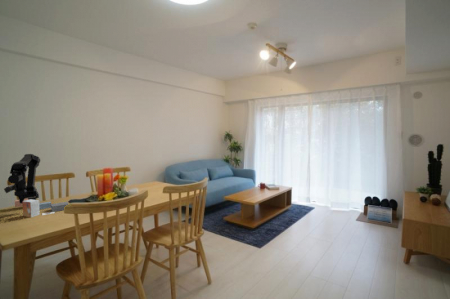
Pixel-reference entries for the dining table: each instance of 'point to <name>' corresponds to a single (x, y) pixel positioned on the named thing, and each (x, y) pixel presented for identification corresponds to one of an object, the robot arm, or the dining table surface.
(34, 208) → the small box
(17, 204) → the terracotta brick
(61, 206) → the charcoal base brick
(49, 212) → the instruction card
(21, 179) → the robot arm
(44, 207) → the slate brick
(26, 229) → the dining table surface
